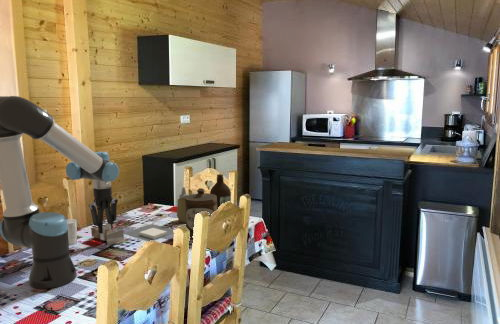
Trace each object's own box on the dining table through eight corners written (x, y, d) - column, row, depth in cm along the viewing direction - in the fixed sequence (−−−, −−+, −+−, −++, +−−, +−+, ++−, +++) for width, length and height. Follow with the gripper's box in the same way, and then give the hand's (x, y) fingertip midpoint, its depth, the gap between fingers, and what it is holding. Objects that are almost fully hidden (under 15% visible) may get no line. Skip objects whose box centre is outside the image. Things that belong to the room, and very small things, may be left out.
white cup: (55, 244, 185) (53, 222, 184) (70, 239, 192) (68, 218, 191) (67, 247, 182) (65, 224, 180) (82, 241, 189) (80, 220, 187)
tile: (139, 235, 194) (153, 239, 189) (139, 232, 194) (153, 236, 188) (153, 230, 201) (167, 234, 195) (152, 227, 201) (167, 231, 195)
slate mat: (150, 242, 186) (149, 241, 186) (122, 234, 198) (122, 233, 197) (179, 232, 200) (179, 231, 200) (152, 225, 212) (152, 224, 212)
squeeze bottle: (175, 220, 219) (173, 186, 217) (190, 218, 223) (189, 185, 220) (179, 224, 212) (178, 189, 209) (194, 222, 215) (193, 188, 213)
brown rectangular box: (86, 238, 189) (85, 227, 189) (101, 233, 196) (101, 222, 195) (108, 245, 179) (107, 234, 179) (124, 240, 186) (123, 229, 185)
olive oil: (206, 222, 215) (205, 174, 211) (222, 218, 222) (221, 172, 218) (219, 227, 207) (218, 177, 203) (235, 222, 214) (234, 174, 210)
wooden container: (183, 239, 189) (181, 192, 186) (189, 229, 204) (188, 185, 201) (216, 239, 189) (215, 192, 185) (220, 229, 203) (218, 185, 200)
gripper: (91, 191, 175) (95, 245, 178) (122, 184, 187) (126, 235, 191) (81, 189, 179) (85, 242, 183) (112, 183, 191) (116, 232, 195)
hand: (106, 238), depth 187 cm, fingers closed on brown rectangular box, 2 cm apart
